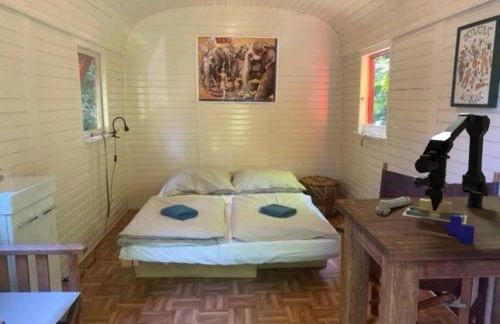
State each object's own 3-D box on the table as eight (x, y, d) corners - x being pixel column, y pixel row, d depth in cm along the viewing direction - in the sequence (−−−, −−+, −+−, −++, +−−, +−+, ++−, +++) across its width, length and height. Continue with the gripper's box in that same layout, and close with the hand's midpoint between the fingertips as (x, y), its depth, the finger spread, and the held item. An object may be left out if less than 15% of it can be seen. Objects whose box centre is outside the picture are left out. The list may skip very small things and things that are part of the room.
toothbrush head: (413, 197, 165) (387, 200, 148) (411, 212, 166) (385, 216, 149) (401, 195, 169) (374, 197, 152) (400, 209, 170) (372, 214, 152)
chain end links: (409, 209, 156) (409, 206, 156) (464, 216, 146) (464, 213, 146) (405, 213, 151) (406, 210, 150) (463, 221, 140) (463, 218, 140)
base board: (407, 209, 159) (407, 207, 159) (467, 218, 148) (467, 215, 147) (401, 217, 149) (402, 215, 149) (465, 226, 138) (465, 224, 137)
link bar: (419, 210, 152) (420, 198, 152) (450, 214, 147) (451, 202, 146) (418, 212, 150) (419, 200, 149) (449, 216, 144) (450, 203, 143)
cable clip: (444, 231, 134) (446, 215, 133) (458, 231, 133) (459, 215, 132) (458, 243, 122) (459, 226, 121) (472, 244, 121) (474, 226, 120)
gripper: (418, 165, 157) (416, 201, 160) (411, 172, 142) (408, 212, 144) (448, 167, 152) (446, 205, 154) (444, 175, 136) (441, 217, 138)
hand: (434, 209), depth 148 cm, fingers closed on link bar, 3 cm apart
